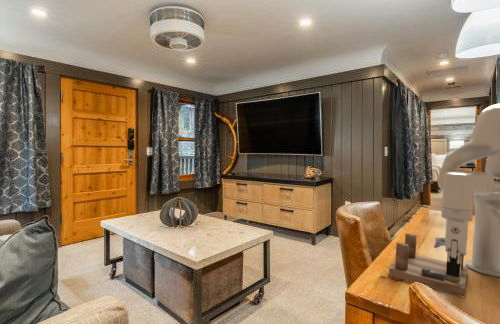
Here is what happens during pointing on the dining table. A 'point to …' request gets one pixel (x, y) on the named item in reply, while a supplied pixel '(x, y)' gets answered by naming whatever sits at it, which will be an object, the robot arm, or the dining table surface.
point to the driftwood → (439, 242)
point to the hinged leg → (444, 275)
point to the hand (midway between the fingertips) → (453, 272)
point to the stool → (412, 264)
